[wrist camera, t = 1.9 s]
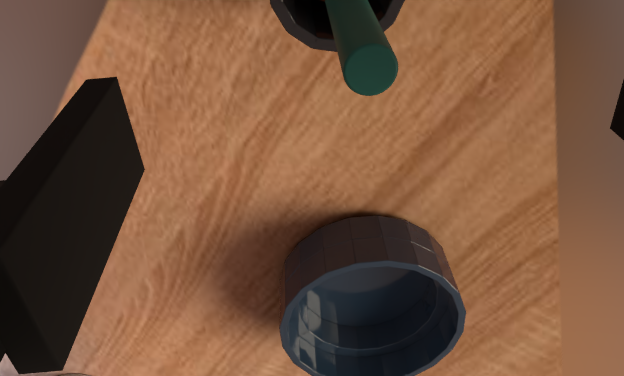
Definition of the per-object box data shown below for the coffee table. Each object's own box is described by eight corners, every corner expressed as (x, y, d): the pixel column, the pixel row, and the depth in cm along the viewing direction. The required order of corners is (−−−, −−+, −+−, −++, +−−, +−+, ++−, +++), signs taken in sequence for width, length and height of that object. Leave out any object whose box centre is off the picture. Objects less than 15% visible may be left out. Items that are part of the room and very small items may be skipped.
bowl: (452, 203, 42) (474, 253, 37) (440, 325, 51) (457, 378, 46) (271, 219, 42) (269, 270, 37) (289, 338, 51) (289, 392, 46)
